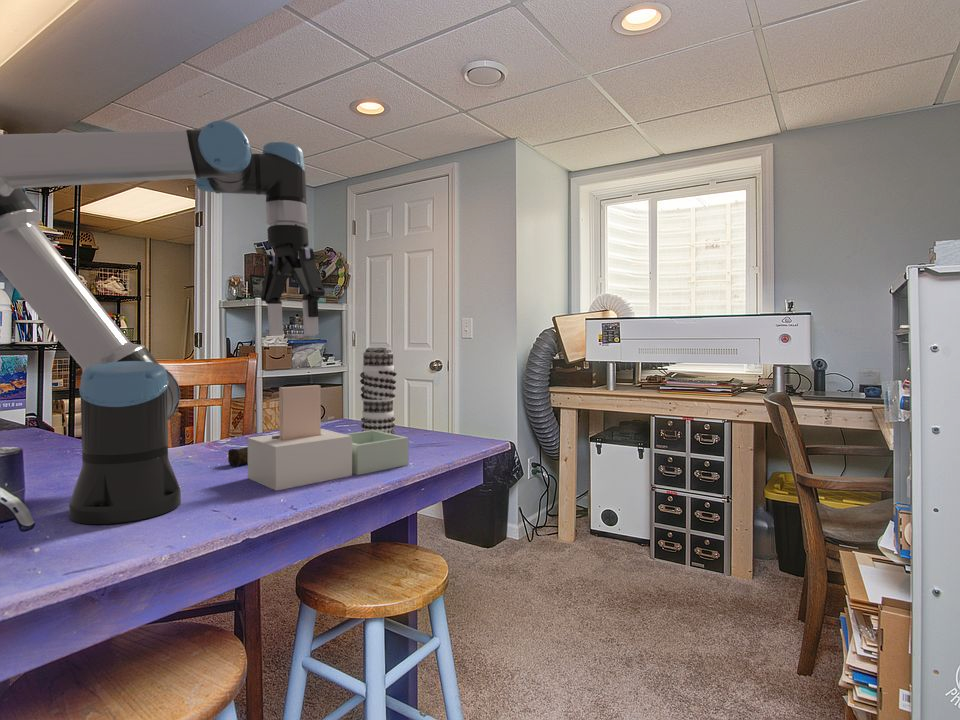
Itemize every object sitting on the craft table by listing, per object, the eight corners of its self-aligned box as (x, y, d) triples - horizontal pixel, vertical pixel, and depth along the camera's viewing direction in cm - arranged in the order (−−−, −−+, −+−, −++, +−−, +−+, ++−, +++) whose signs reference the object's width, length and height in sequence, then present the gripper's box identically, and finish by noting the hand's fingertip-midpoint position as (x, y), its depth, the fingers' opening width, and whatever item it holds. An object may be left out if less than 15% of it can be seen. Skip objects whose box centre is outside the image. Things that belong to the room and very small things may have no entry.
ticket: (283, 470, 108) (282, 388, 107) (279, 469, 109) (279, 387, 108) (320, 464, 114) (320, 385, 113) (316, 463, 115) (316, 385, 114)
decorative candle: (397, 441, 149) (398, 347, 148) (394, 448, 140) (395, 348, 139) (362, 441, 149) (363, 347, 147) (357, 448, 139) (357, 347, 138)
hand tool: (236, 468, 119) (236, 447, 118) (226, 465, 121) (226, 444, 121) (312, 454, 134) (312, 435, 134) (301, 451, 136) (301, 432, 136)
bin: (357, 475, 114) (357, 445, 113) (324, 464, 123) (324, 436, 122) (408, 464, 123) (408, 437, 123) (373, 455, 132) (373, 429, 132)
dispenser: (276, 490, 102) (275, 444, 101) (247, 478, 110) (247, 435, 110) (352, 475, 113) (352, 433, 113) (321, 465, 122) (321, 426, 121)
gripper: (340, 219, 104) (345, 334, 105) (274, 236, 121) (279, 335, 122) (303, 214, 99) (309, 335, 100) (240, 233, 115) (245, 336, 117)
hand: (293, 335), depth 111 cm, fingers open, 13 cm apart
